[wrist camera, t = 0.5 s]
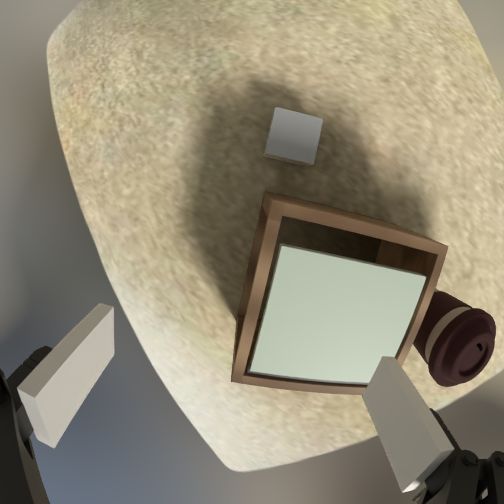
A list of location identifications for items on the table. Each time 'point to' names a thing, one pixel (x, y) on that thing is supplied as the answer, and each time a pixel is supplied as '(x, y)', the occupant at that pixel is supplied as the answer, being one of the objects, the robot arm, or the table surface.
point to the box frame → (390, 254)
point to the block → (293, 137)
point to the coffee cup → (455, 339)
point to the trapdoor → (332, 317)
